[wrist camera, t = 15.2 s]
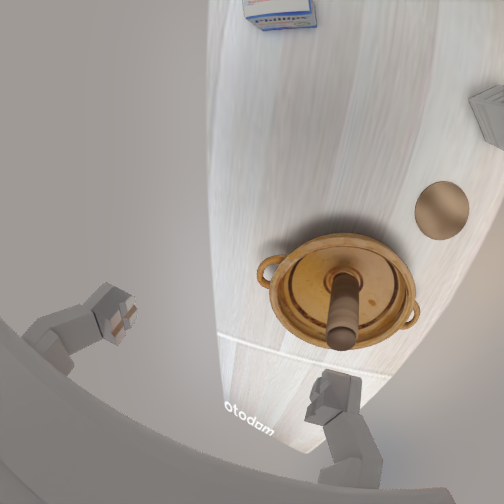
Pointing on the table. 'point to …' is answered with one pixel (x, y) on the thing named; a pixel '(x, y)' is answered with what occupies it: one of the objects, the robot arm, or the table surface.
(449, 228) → the cork coaster
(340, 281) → the pepper mill
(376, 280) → the ceramic bowl
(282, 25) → the medicine box
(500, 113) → the supplement box
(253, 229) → the table surface
